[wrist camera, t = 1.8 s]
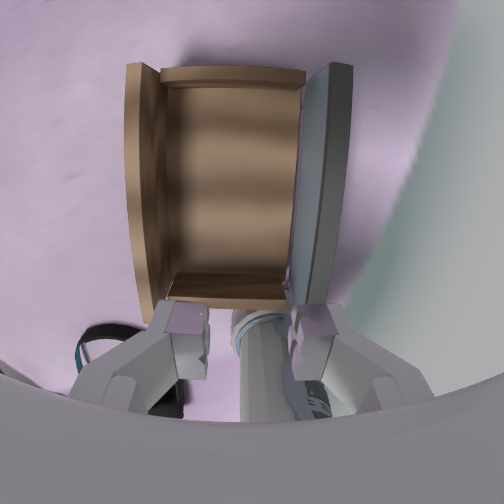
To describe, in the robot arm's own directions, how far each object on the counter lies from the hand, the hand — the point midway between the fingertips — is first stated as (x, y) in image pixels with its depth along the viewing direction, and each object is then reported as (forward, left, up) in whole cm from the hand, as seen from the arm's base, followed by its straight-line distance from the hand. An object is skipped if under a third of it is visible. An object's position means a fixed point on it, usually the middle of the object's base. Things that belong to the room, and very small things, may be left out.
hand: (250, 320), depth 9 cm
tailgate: (0, +5, -21) cm, 22 cm away
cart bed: (0, -2, -24) cm, 24 cm away
